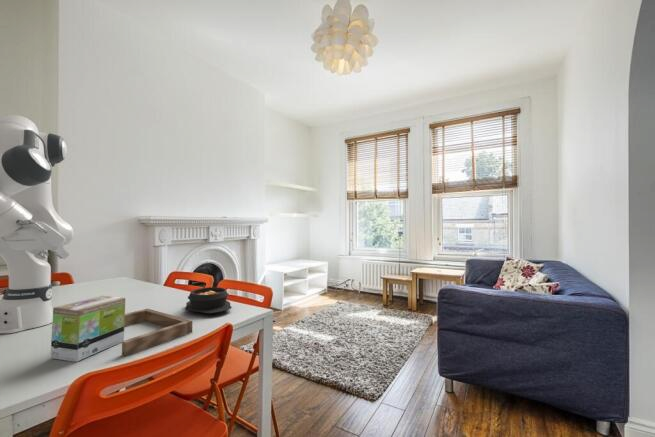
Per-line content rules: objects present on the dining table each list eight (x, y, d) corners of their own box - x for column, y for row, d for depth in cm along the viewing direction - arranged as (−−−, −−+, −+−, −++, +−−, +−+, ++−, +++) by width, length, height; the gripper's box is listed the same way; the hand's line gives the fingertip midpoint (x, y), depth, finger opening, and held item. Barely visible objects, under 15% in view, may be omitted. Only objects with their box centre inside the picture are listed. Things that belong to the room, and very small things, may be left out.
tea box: (78, 363, 82) (79, 309, 82) (49, 359, 84) (50, 307, 84) (125, 341, 96) (126, 296, 97) (100, 338, 99) (101, 294, 99)
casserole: (241, 311, 130) (242, 292, 130) (199, 321, 117) (200, 300, 117) (215, 300, 147) (215, 283, 147) (175, 307, 134) (176, 289, 134)
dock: (125, 356, 86) (125, 342, 86) (80, 336, 100) (81, 324, 100) (192, 332, 105) (192, 320, 105) (147, 318, 119) (147, 308, 119)
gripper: (43, 210, 72) (88, 247, 81) (-1, 215, 80) (44, 248, 88) (18, 229, 68) (68, 266, 77) (-26, 231, 75) (24, 265, 84)
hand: (55, 256), depth 83 cm, fingers open, 8 cm apart
